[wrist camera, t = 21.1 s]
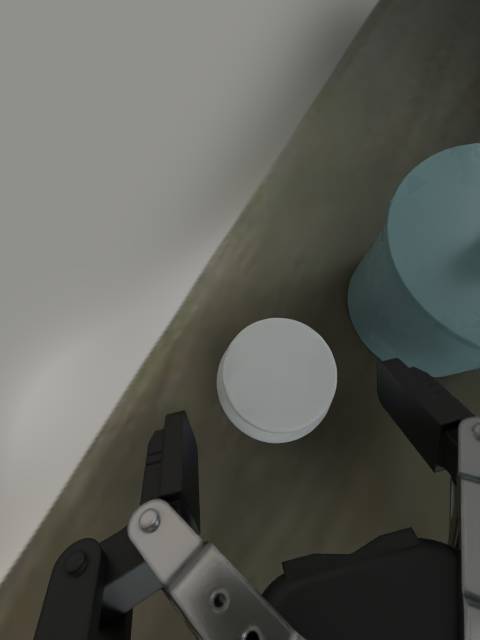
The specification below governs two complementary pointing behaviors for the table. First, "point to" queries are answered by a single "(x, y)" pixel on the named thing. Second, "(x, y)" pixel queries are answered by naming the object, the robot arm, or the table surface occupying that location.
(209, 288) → the table surface
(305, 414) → the pill bottle
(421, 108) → the table surface
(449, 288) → the pot
